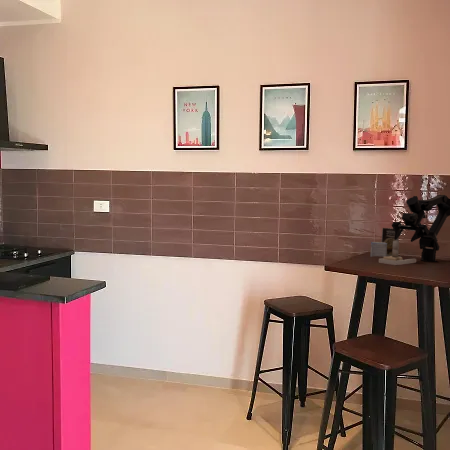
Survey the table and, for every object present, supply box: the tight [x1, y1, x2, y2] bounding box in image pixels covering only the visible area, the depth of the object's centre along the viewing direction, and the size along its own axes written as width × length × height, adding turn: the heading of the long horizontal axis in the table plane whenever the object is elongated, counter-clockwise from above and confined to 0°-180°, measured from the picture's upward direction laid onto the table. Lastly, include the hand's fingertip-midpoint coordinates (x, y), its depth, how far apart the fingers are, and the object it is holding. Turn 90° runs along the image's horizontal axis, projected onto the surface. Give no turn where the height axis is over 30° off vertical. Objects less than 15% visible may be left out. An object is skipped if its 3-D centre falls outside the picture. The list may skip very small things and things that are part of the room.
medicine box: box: [369, 241, 387, 258], centre depth 291 cm, size 8×4×9 cm, turn 84°
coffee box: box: [380, 227, 400, 256], centre depth 299 cm, size 9×6×16 cm
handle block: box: [382, 240, 403, 261], centre depth 264 cm, size 7×6×11 cm
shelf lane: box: [378, 255, 417, 266], centre depth 267 cm, size 19×10×3 cm, turn 130°
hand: (402, 240), depth 269 cm, fingers open, 9 cm apart
